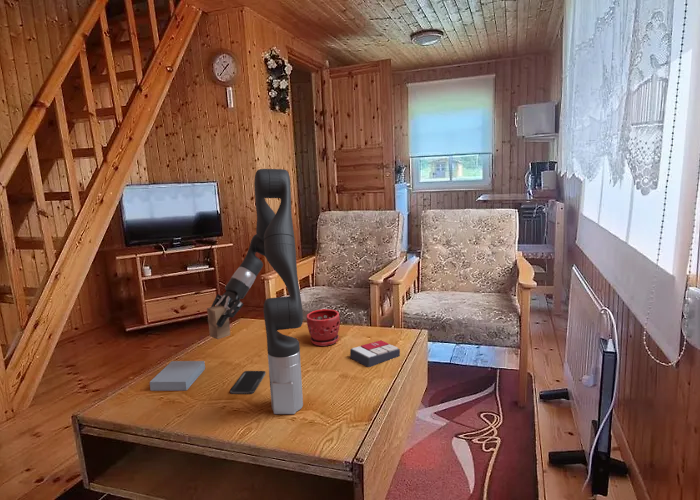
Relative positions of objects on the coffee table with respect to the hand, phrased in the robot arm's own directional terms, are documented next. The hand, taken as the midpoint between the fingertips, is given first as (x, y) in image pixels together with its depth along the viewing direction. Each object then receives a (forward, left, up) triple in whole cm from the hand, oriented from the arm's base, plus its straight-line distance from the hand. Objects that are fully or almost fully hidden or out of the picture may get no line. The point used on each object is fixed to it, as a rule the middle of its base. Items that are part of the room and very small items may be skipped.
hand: (214, 324), depth 155 cm
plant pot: (+28, -34, -18) cm, 47 cm away
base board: (-4, +12, -18) cm, 22 cm away
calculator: (+13, -54, -19) cm, 59 cm away
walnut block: (+1, -1, -5) cm, 5 cm away
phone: (-7, -13, -19) cm, 24 cm away
